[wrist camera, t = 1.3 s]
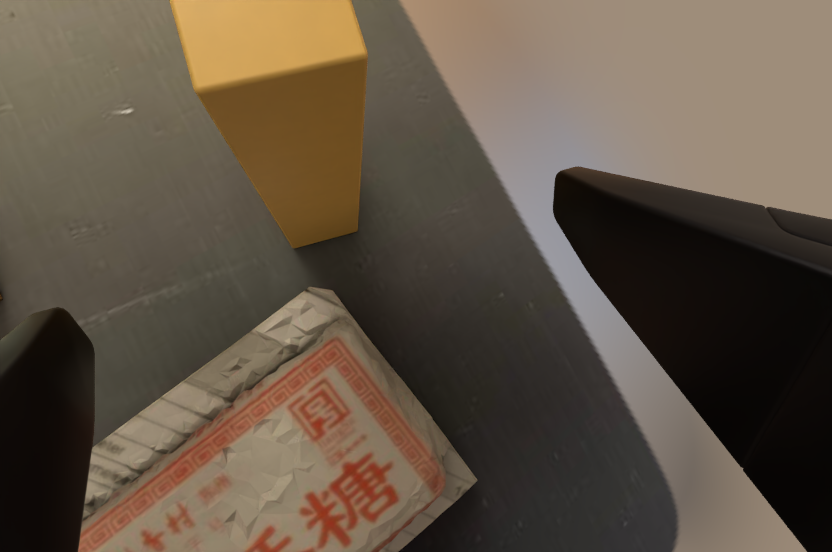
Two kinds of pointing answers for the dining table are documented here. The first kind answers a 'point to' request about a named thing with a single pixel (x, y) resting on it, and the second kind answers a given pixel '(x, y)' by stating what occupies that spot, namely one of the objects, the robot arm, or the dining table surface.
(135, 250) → the dining table surface
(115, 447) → the packaged product
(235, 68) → the mustard yellow box
